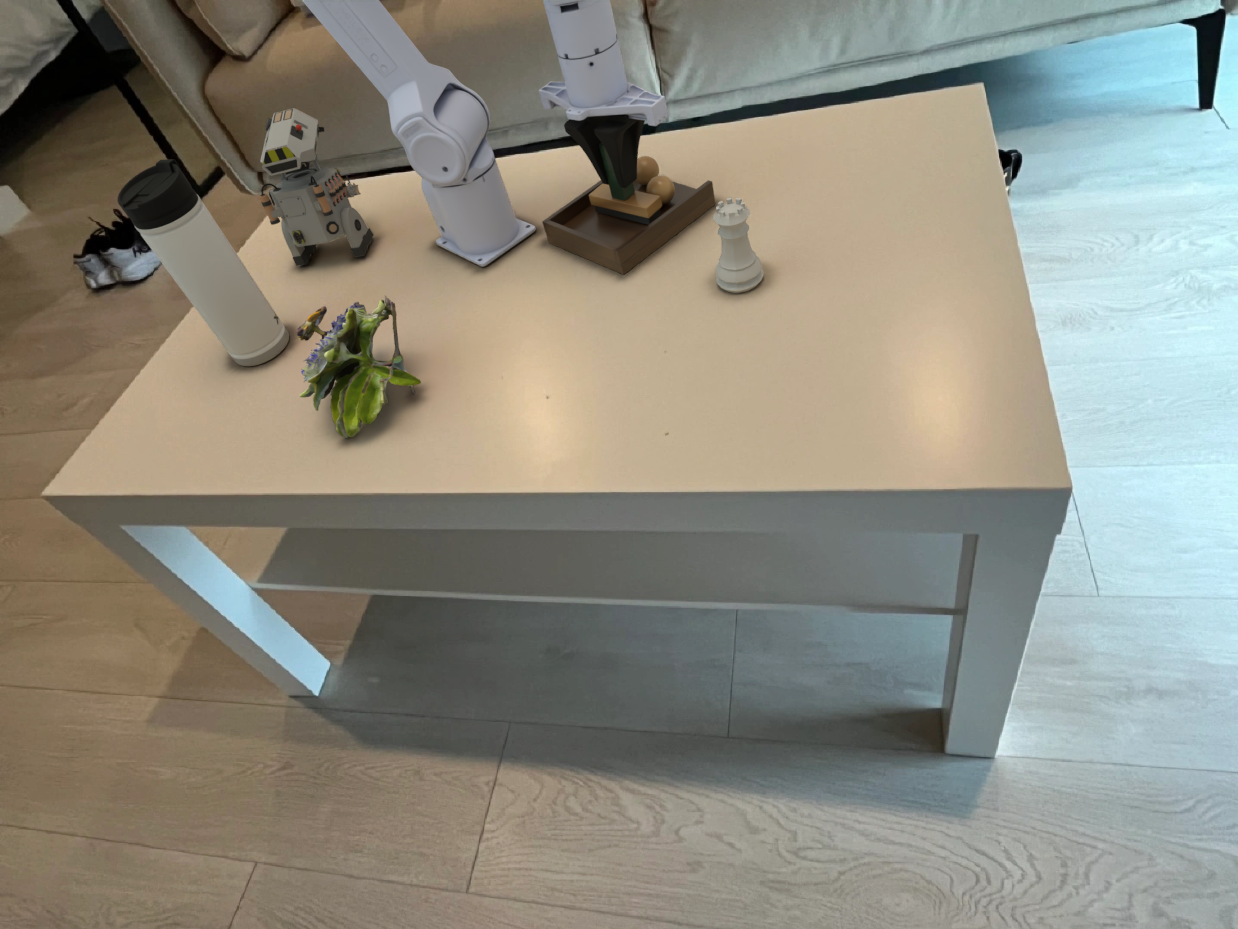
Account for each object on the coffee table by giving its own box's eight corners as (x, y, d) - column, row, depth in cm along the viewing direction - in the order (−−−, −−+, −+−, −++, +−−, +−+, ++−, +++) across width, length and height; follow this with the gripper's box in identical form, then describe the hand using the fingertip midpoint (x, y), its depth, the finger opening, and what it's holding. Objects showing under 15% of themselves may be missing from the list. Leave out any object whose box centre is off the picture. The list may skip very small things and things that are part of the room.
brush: (593, 213, 89) (573, 141, 83) (606, 201, 90) (588, 130, 84) (650, 227, 84) (634, 152, 78) (664, 214, 85) (649, 140, 79)
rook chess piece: (762, 293, 75) (753, 217, 69) (713, 296, 76) (701, 221, 70) (766, 264, 78) (758, 188, 72) (719, 267, 79) (708, 193, 73)
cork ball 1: (629, 186, 91) (623, 161, 89) (647, 173, 92) (642, 148, 90) (648, 192, 89) (642, 167, 87) (666, 179, 90) (661, 153, 88)
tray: (548, 242, 89) (541, 221, 87) (637, 179, 94) (632, 157, 92) (623, 274, 82) (617, 252, 80) (715, 204, 87) (712, 180, 85)
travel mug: (303, 328, 88) (193, 156, 74) (268, 369, 85) (145, 196, 70) (259, 325, 91) (145, 158, 76) (223, 365, 87) (95, 198, 72)
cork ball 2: (643, 171, 85) (663, 173, 87) (637, 200, 86) (657, 202, 88) (664, 177, 83) (683, 180, 85) (657, 207, 85) (676, 209, 87)
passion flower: (374, 425, 83) (343, 307, 81) (461, 410, 79) (431, 285, 76) (291, 450, 73) (254, 317, 71) (385, 435, 69) (348, 292, 66)
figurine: (389, 212, 102) (332, 94, 91) (361, 266, 95) (295, 144, 84) (324, 222, 104) (261, 108, 93) (291, 276, 97) (219, 158, 86)
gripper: (503, 59, 76) (544, 189, 86) (620, 72, 69) (651, 214, 78) (551, 25, 79) (586, 155, 89) (670, 35, 72) (693, 176, 81)
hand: (619, 180), depth 84 cm, fingers closed on brush, 2 cm apart
